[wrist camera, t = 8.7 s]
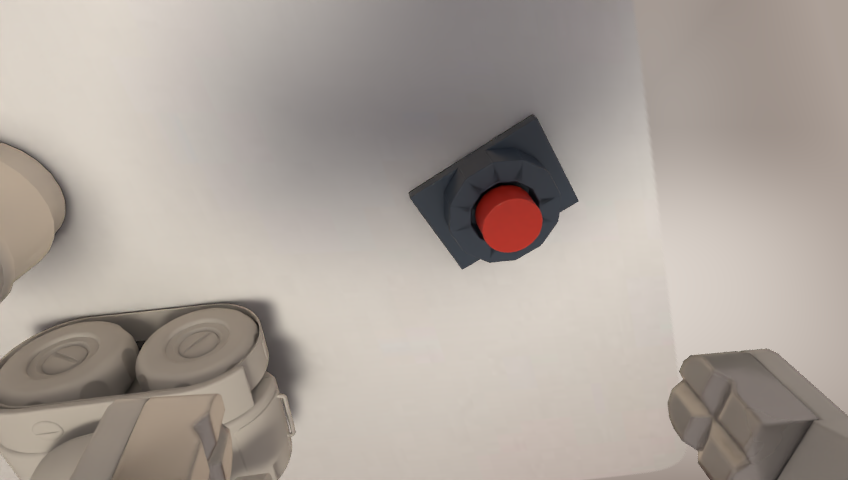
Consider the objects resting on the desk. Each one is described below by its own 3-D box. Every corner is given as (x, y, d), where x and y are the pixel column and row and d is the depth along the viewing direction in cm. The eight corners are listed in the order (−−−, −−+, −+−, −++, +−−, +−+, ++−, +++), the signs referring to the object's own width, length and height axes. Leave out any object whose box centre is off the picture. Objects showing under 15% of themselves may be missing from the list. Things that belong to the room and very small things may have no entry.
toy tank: (284, 292, 30) (248, 491, 19) (310, 409, 35) (293, 618, 24) (21, 319, 29) (-184, 554, 17) (90, 438, 34) (-33, 673, 23)
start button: (516, 173, 26) (527, 187, 24) (541, 216, 27) (552, 232, 26) (464, 205, 26) (471, 220, 25) (491, 246, 28) (499, 263, 26)
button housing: (532, 113, 26) (548, 127, 24) (574, 196, 29) (592, 216, 27) (407, 192, 28) (412, 212, 26) (460, 264, 31) (468, 287, 29)
